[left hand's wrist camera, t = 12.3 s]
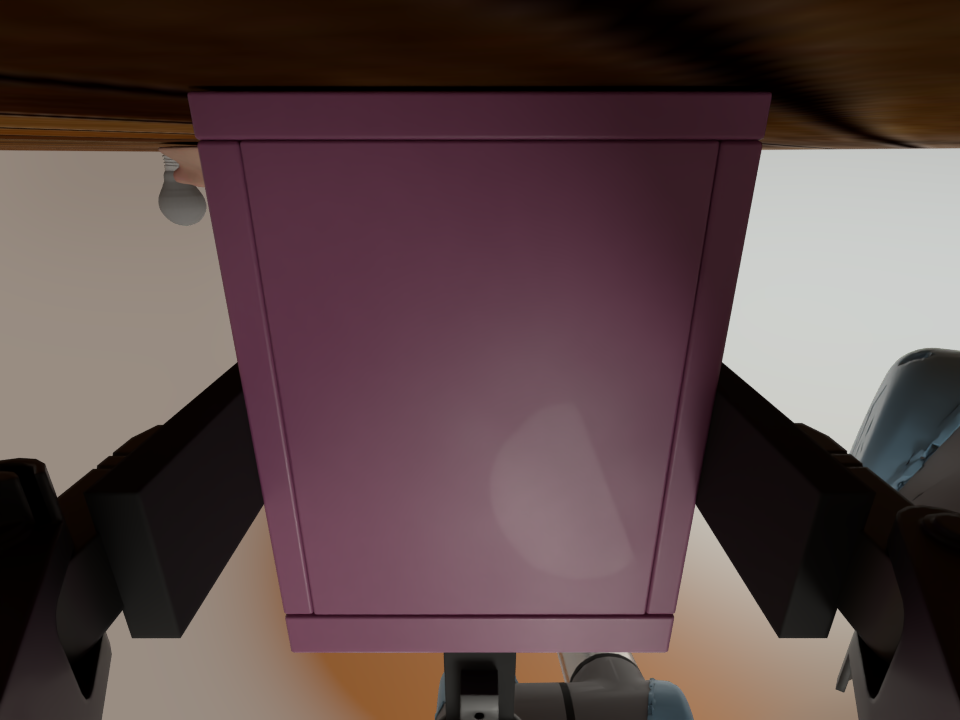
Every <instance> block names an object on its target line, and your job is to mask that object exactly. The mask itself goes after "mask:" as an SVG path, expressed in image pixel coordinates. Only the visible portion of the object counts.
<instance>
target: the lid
mask: <svg viewBox="0 0 960 720" xmlns="http://www.w3.org/2000/svg"><path fill="white" fill-rule="evenodd" d="M285 619H286V624H287V630H288V635H289V640H290V646H291V651H292V652H667V651H668V648H669V642H670V637H671V632H672V626H673V621H674V616H673V614H648V613H647V612H646V611H645V614H315V613H314V612H313V613H311V614H286V618H285Z"/></svg>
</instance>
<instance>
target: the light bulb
mask: <svg viewBox="0 0 960 720" xmlns="http://www.w3.org/2000/svg"><path fill="white" fill-rule="evenodd" d="M162 157H164V159H163V160H165V162H164V163H165V172H164V184H163V187H162V189H161V192H160V195H159V207H160V210H161V211H162V213H163V214H164V215H165V216H166V217H167V218H168V219H169V220H170V221H172V222H173V223H176V224H179V225H185V226H188V225H193V224H195V223H197V222H199V221H200V220H201V219H202V218H203V216H204V214H205V212H206V202H205V199H204V197H203V195H202V194H201V192H200V191H199V190H198V189H197V187H196V186H194V185H190V184H183V183H179V182H177V181H175V179H174V176H173V173H174V171H175V170H176V169H177V168H178V167H179V164H178V163H177V162H176V161H174V160H173V159H171V158H169V157H167V156H165V155H163V156H162Z"/></svg>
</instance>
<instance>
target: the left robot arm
mask: <svg viewBox="0 0 960 720" xmlns="http://www.w3.org/2000/svg"><path fill="white" fill-rule="evenodd" d="M695 504H696V506H697V507H698V509H699V510H700V512H701V514H702V515H703V517H704V518H705V520H706V522H707V523H708V525H709V526H710V528H711V530H712V531H713V533H714V535H715V536H716V538H717V539H718V541H719V543H720V544H721V546H722V547H723V549H724V551H725V552H726V554H727V555H728V557H729V559H730V560H731V562H732V563H733V565H734V567H735V568H736V570H737V572H738V573H739V575H740V576H741V578H742V580H743V581H744V583H745V584H746V586H747V588H748V589H749V591H750V592H751V594H752V596H753V597H754V599H755V600H756V602H757V604H758V605H759V607H760V608H761V610H762V612H763V613H764V615H765V616H766V618H767V620H768V621H769V623H770V625H771V626H772V628H773V629H774V631H775V632H776V634H777V636H778V637H779V638H827V637H828V634H829V631H830V628H831V625H832V622H833V619H834V616H835V614H836V611H837V608H838V609H839V611H840V612H841V613H842V614H843V616H844V617H845V618H846V619H847V621H848V622H849V623H850V624H851V626H852V627H853V628H854V629H855V631H854V634H853V637H852V639H851V642H850V645H849V648H848V650H847V653H846V656H845V659H844V662H843V664H842V667H841V670H840V673H839V675H838V678H837V684H836V690H839V691H842V692H845V689H846V686H847V684H848V681H849V680H851V679H853V686H854V692H855V699H856V705H857V712H858V718H859V720H960V351H958V350H949V349H940V348H925V349H919V350H916V351H913V352H910V353H908V354H906V355H904V356H903V357H901V358H900V359H899V360H897V361H896V362H895V364H894V365H893V366H892V367H891V368H890V370H889V371H888V373H887V375H886V376H885V378H884V380H883V382H882V384H881V385H880V387H879V389H878V391H877V393H876V395H875V397H874V399H873V401H872V404H871V406H870V408H869V410H868V412H867V414H866V416H865V419H864V421H863V423H862V426H861V428H860V430H859V432H858V435H857V437H856V439H855V442H854V444H853V446H852V449H851V451H850V454H847V451H846V450H845V449H844V448H843V447H841V446H840V445H839V444H838V443H836V442H835V441H834V440H833V439H831V438H830V437H829V436H827V435H825V434H823V433H821V432H819V431H817V430H815V429H813V428H811V427H809V426H807V425H805V424H803V423H793V422H792V421H791V420H790V419H789V418H787V417H786V416H785V415H784V414H783V413H781V412H780V411H779V410H778V409H777V408H775V407H774V406H773V405H772V404H771V403H770V402H768V401H767V400H766V399H765V398H764V397H762V396H761V395H760V394H759V393H758V392H757V391H755V390H754V389H753V388H752V387H751V386H749V385H748V384H747V383H746V382H745V381H744V380H742V379H741V378H740V377H739V376H738V375H736V374H735V373H734V372H733V371H732V370H731V369H729V368H728V367H727V366H726V365H725V364H723V363H722V364H721V369H720V374H719V380H718V385H717V390H716V396H715V401H714V406H713V412H712V417H711V423H710V428H709V433H708V439H707V444H706V449H705V455H704V460H703V465H702V471H701V476H700V481H699V487H698V492H697V498H696V503H695ZM263 505H264V501H263V495H262V490H261V485H260V479H259V474H258V468H257V463H256V458H255V452H254V447H253V442H252V436H251V431H250V426H249V420H248V415H247V410H246V404H245V399H244V393H243V388H242V383H241V377H240V372H239V367H238V362H237V363H236V364H235V365H234V366H232V367H231V368H230V369H229V370H228V371H226V372H225V373H224V374H223V375H222V376H221V377H219V378H218V379H217V380H216V381H215V382H213V383H212V384H211V385H210V386H209V387H208V388H206V389H205V390H204V391H203V392H202V393H200V394H199V395H198V396H197V397H196V398H194V399H193V400H192V401H191V402H190V403H189V404H187V405H186V406H185V407H184V408H183V409H181V410H180V411H179V412H178V413H177V414H176V415H174V416H173V417H172V418H171V419H170V420H168V421H167V422H166V423H165V424H164V425H157V426H155V427H153V428H151V429H149V430H147V431H145V432H143V433H141V434H139V435H137V436H134V437H132V438H131V439H130V440H128V441H127V442H126V443H125V444H123V445H122V446H121V447H120V448H118V449H117V450H116V451H115V452H113V456H109V457H107V458H106V459H105V460H104V461H102V462H101V463H100V464H99V465H97V469H92V470H91V471H90V472H89V473H87V474H86V475H85V476H84V477H82V478H81V479H80V480H79V481H77V482H76V483H75V484H74V485H72V486H71V487H70V488H69V489H67V490H66V491H65V492H64V493H63V494H61V495H60V496H59V497H58V498H57V496H56V493H55V490H54V487H53V485H52V482H51V479H50V476H49V474H48V471H47V468H46V465H45V464H44V463H43V462H41V461H39V460H37V459H28V458H16V459H8V460H0V720H102V713H103V707H104V701H105V694H106V688H107V681H108V675H109V668H110V662H111V655H112V653H111V647H110V642H109V639H108V637H107V634H106V630H107V629H108V628H109V627H110V625H111V624H112V623H113V622H114V620H115V619H116V618H117V617H118V615H119V614H120V613H121V611H122V610H123V613H124V616H125V619H126V622H127V625H128V628H129V631H130V633H131V636H132V638H181V636H182V635H183V633H184V632H185V630H186V628H187V627H188V625H189V624H190V622H191V620H192V619H193V617H194V616H195V614H196V612H197V611H198V609H199V608H200V606H201V604H202V603H203V601H204V599H205V598H206V596H207V595H208V593H209V591H210V590H211V588H212V587H213V585H214V583H215V582H216V580H217V579H218V577H219V575H220V574H221V572H222V571H223V569H224V567H225V566H226V564H227V562H228V561H229V559H230V558H231V556H232V554H233V553H234V551H235V550H236V548H237V546H238V545H239V543H240V542H241V540H242V538H243V537H244V535H245V534H246V532H247V530H248V529H249V527H250V526H251V524H252V522H253V521H254V519H255V518H256V516H257V514H258V513H259V511H260V509H261V508H262V506H263Z"/></svg>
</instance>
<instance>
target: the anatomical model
mask: <svg viewBox="0 0 960 720" xmlns="http://www.w3.org/2000/svg"><path fill="white" fill-rule="evenodd" d="M158 150H159V151H160V152H161V153H162V154H164V155H165V156H167V157H169V158H171V159H173V160H174V161H176V162H177V163H178V164H179V167H178V168H177V169H176V170H175V171H174V173H173V176H174V179H175V181H177V182H179V183H183V184H190V185H194V186H198V187H205V185H204V179H203V174H202V168H201V163H200V158H199V152H198V147H197V146H170V147H160V148H158Z"/></svg>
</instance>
